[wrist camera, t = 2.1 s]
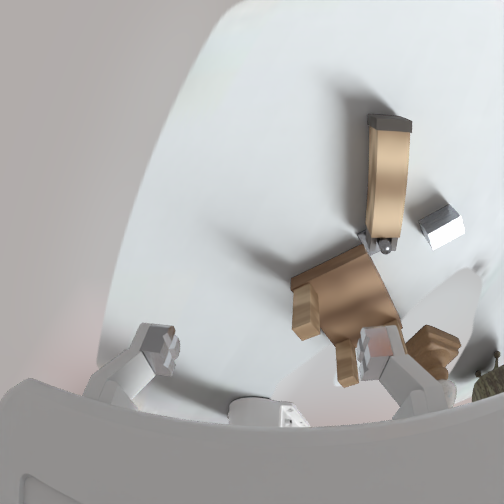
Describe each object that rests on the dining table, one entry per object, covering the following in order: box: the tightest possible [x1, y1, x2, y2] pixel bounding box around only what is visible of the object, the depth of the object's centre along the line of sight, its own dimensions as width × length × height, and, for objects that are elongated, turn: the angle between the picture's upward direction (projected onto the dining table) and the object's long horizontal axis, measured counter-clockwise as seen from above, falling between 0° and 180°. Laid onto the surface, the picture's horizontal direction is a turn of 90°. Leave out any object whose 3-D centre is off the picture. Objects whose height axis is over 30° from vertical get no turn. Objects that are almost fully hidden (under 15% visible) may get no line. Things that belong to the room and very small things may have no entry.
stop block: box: [419, 204, 465, 250], centre depth 31 cm, size 2×5×4 cm, turn 126°
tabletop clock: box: [472, 351, 504, 402], centre depth 38 cm, size 14×9×25 cm, turn 30°
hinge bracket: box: [358, 230, 392, 256], centre depth 33 cm, size 4×3×5 cm
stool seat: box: [291, 244, 408, 388], centre depth 37 cm, size 16×11×9 cm
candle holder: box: [405, 325, 461, 409], centre depth 36 cm, size 11×11×24 cm
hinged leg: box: [365, 114, 412, 251], centre depth 29 cm, size 15×4×4 cm, turn 6°
